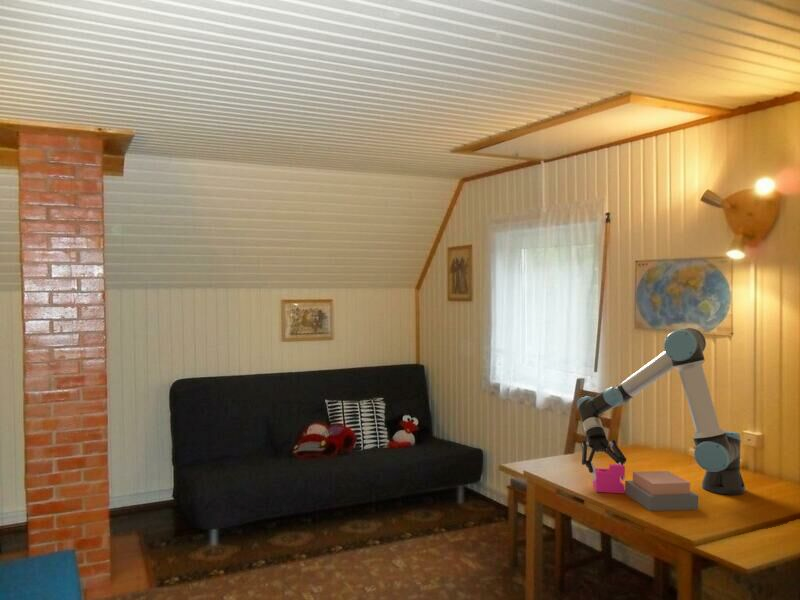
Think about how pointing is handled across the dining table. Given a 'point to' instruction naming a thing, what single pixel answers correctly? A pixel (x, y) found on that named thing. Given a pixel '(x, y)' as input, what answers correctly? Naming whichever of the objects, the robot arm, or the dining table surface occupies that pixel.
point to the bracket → (609, 479)
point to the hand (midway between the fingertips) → (609, 479)
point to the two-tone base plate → (661, 491)
